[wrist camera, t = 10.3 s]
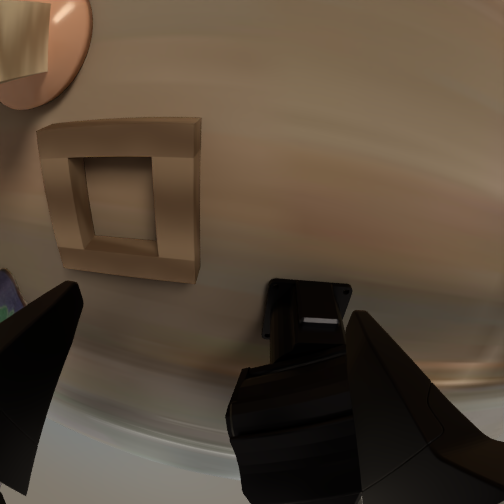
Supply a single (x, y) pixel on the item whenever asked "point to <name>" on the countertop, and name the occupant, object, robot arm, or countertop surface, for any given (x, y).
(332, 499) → the robot arm
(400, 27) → the countertop surface
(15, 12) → the maple block
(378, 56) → the countertop surface
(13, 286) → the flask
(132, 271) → the pocket board
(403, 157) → the countertop surface
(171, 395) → the countertop surface
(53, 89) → the terracotta plate
